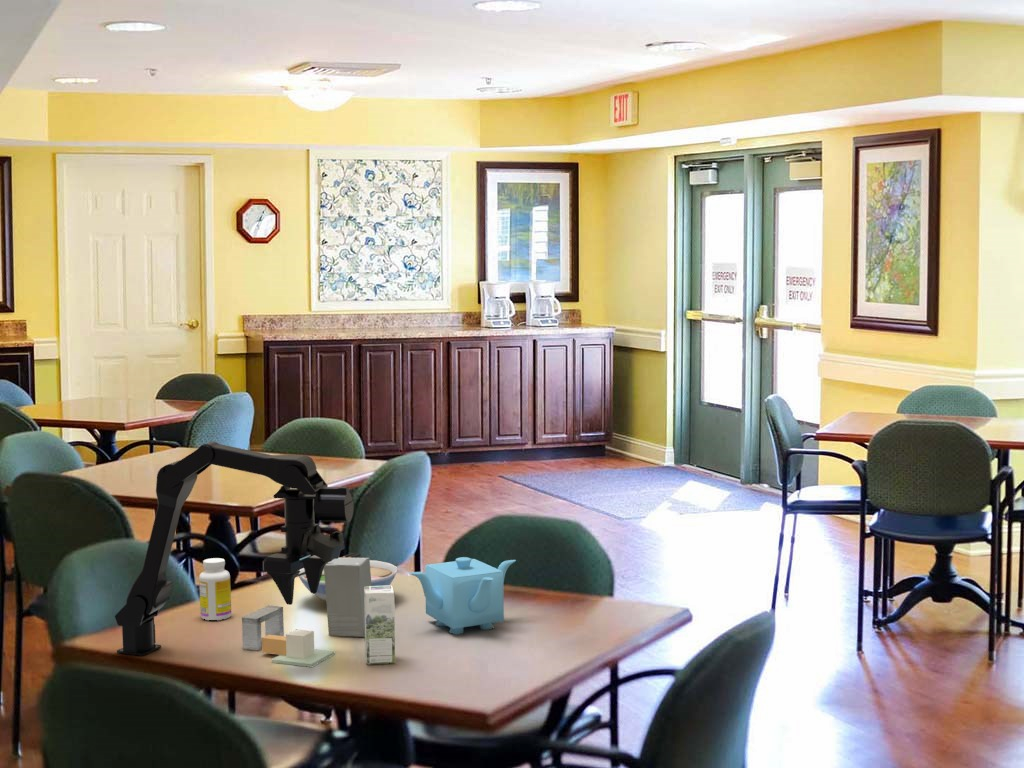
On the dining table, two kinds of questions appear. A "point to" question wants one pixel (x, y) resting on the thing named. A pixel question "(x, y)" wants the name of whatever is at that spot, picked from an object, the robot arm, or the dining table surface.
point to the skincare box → (346, 595)
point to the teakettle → (464, 593)
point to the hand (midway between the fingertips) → (301, 598)
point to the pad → (308, 661)
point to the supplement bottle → (215, 590)
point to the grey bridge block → (253, 626)
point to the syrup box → (379, 624)
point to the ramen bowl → (379, 571)
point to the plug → (290, 644)
